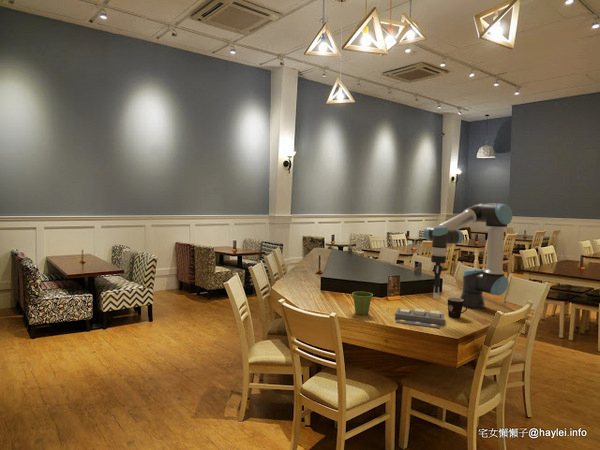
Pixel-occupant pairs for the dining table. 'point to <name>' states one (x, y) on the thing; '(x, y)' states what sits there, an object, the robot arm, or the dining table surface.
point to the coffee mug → (455, 307)
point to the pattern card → (418, 323)
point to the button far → (405, 311)
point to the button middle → (419, 312)
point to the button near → (435, 314)
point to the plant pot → (362, 302)
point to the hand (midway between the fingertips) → (435, 298)
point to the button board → (419, 317)
